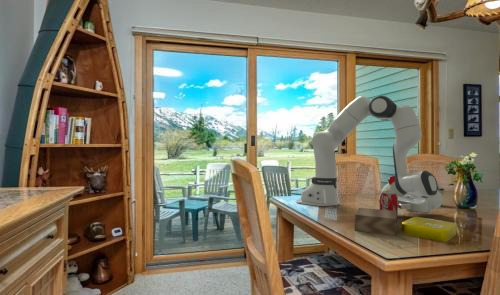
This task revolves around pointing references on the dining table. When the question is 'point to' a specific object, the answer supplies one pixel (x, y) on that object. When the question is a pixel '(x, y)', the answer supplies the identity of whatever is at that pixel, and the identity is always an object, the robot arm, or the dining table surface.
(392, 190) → the red white rounded piece
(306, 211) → the dining table surface
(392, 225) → the walnut block
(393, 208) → the soda can
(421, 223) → the element tile
